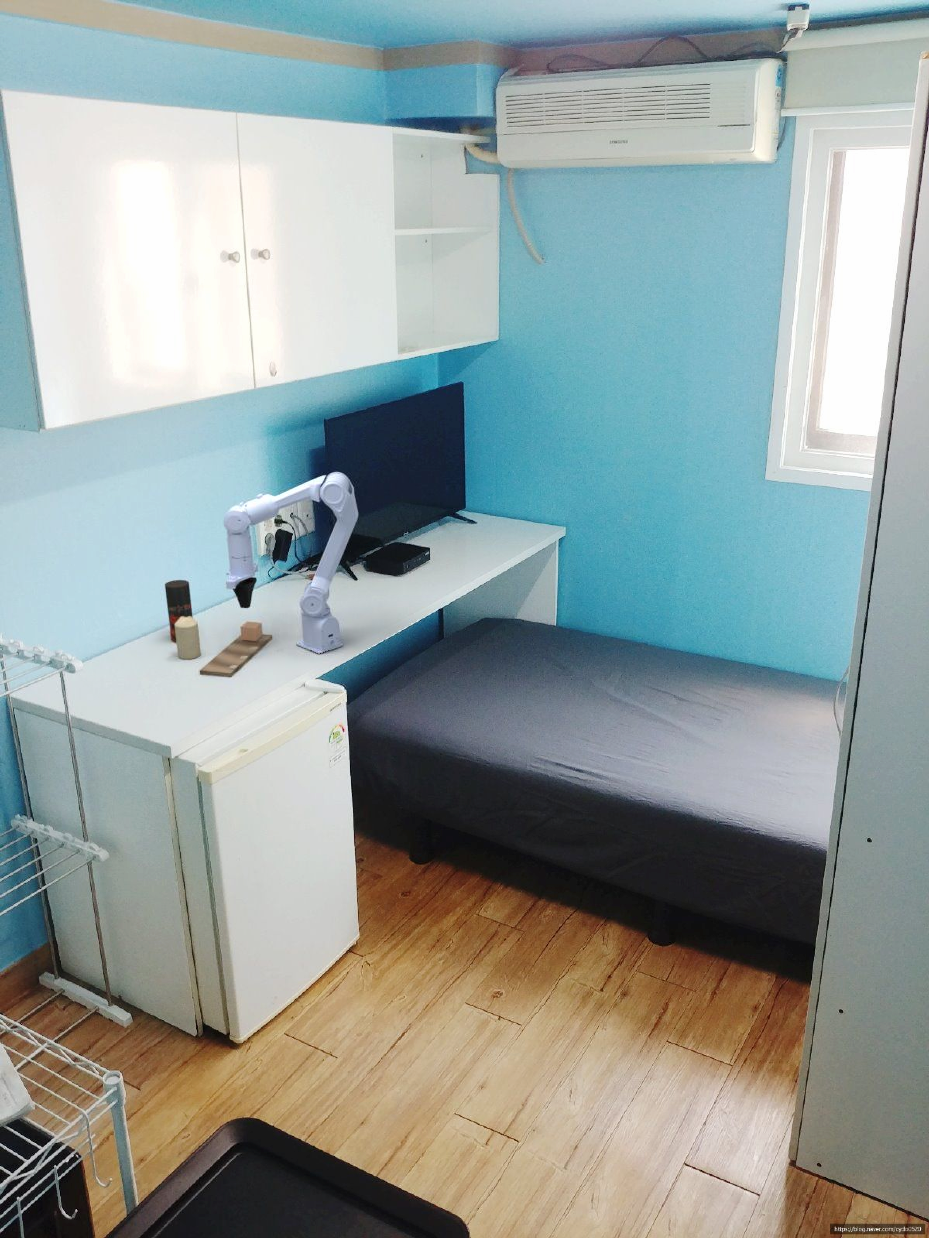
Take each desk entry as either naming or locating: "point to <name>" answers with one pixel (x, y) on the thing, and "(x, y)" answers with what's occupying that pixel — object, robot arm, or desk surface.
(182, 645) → the candle
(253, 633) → the peach colored cube
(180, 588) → the deodorant
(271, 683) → the desk surface
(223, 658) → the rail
